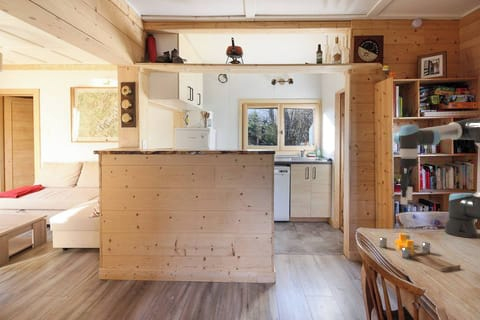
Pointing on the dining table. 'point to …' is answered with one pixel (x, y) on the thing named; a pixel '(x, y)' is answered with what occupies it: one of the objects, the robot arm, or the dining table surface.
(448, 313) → the dining table surface
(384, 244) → the spacers
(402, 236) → the pipe clamp
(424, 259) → the board
